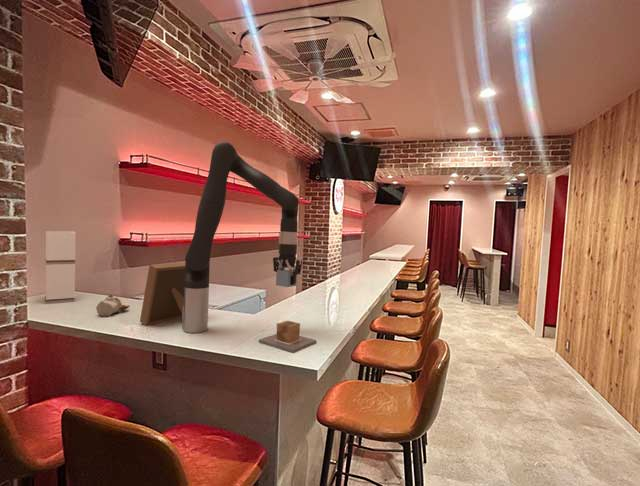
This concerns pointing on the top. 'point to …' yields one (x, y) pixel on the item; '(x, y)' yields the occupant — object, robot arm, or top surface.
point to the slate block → (284, 278)
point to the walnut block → (288, 331)
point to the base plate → (289, 347)
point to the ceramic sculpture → (110, 306)
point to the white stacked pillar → (60, 267)
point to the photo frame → (163, 293)
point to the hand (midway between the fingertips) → (286, 283)
